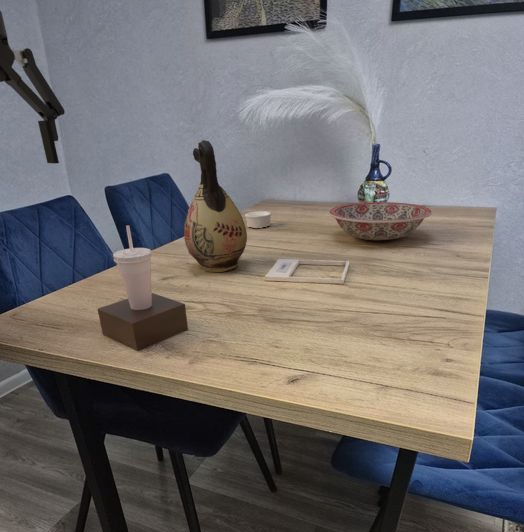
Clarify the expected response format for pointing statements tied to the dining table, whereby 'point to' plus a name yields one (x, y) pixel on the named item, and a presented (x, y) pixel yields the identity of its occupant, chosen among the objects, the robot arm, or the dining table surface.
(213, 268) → the ceramic jug
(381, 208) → the ceramic bowl
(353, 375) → the dining table surface
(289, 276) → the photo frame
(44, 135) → the robot arm
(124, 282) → the smoothie
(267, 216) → the ramekin
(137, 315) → the block
